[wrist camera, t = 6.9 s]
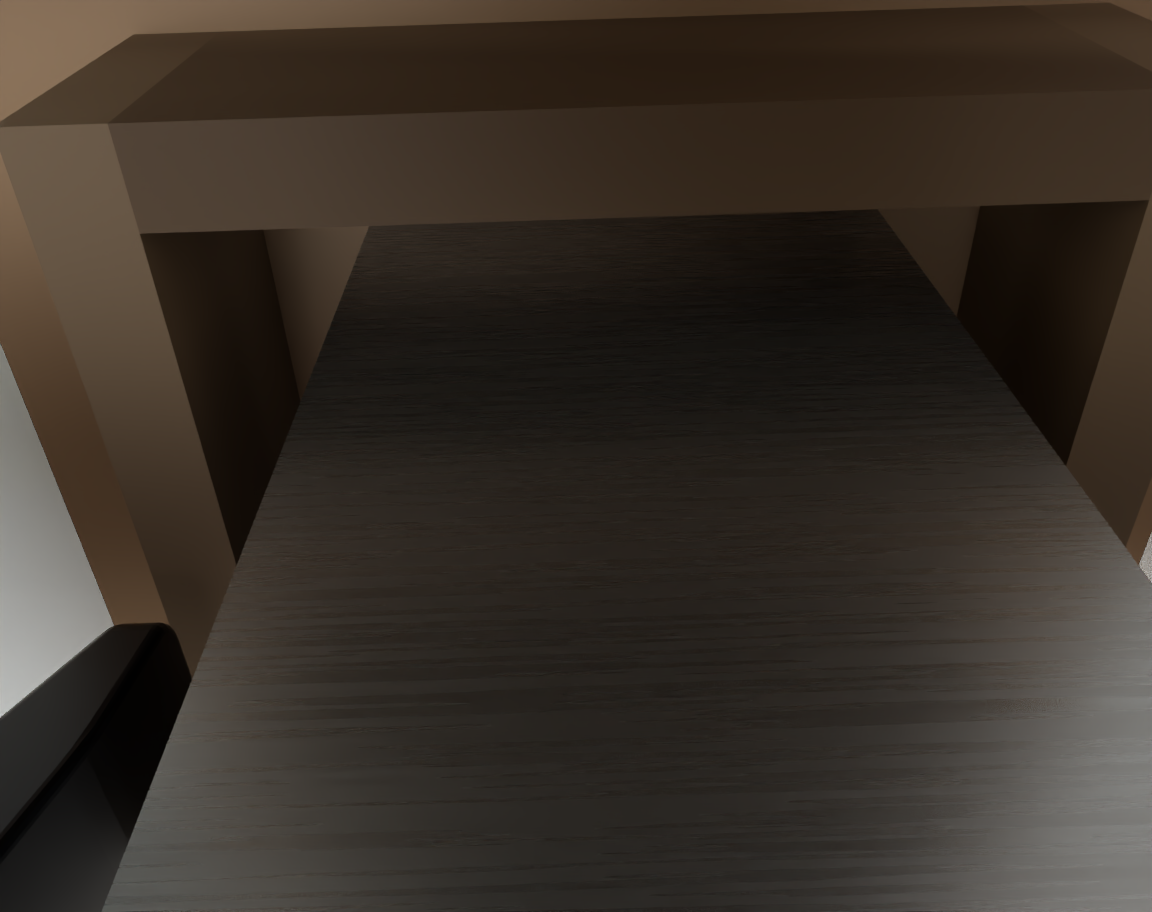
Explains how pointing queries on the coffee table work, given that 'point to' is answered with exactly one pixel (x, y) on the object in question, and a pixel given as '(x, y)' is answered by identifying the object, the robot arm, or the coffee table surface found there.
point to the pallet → (528, 207)
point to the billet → (660, 602)
